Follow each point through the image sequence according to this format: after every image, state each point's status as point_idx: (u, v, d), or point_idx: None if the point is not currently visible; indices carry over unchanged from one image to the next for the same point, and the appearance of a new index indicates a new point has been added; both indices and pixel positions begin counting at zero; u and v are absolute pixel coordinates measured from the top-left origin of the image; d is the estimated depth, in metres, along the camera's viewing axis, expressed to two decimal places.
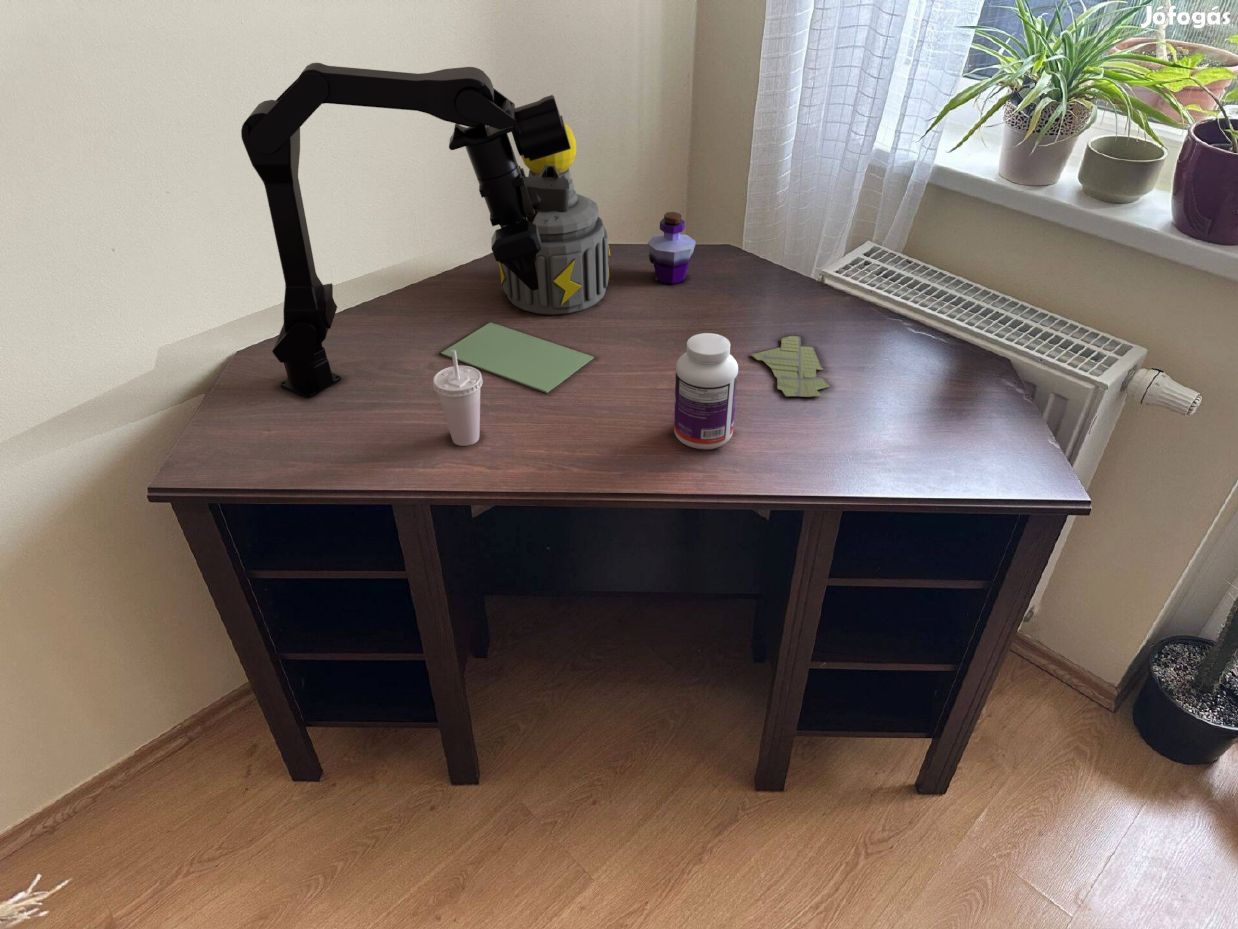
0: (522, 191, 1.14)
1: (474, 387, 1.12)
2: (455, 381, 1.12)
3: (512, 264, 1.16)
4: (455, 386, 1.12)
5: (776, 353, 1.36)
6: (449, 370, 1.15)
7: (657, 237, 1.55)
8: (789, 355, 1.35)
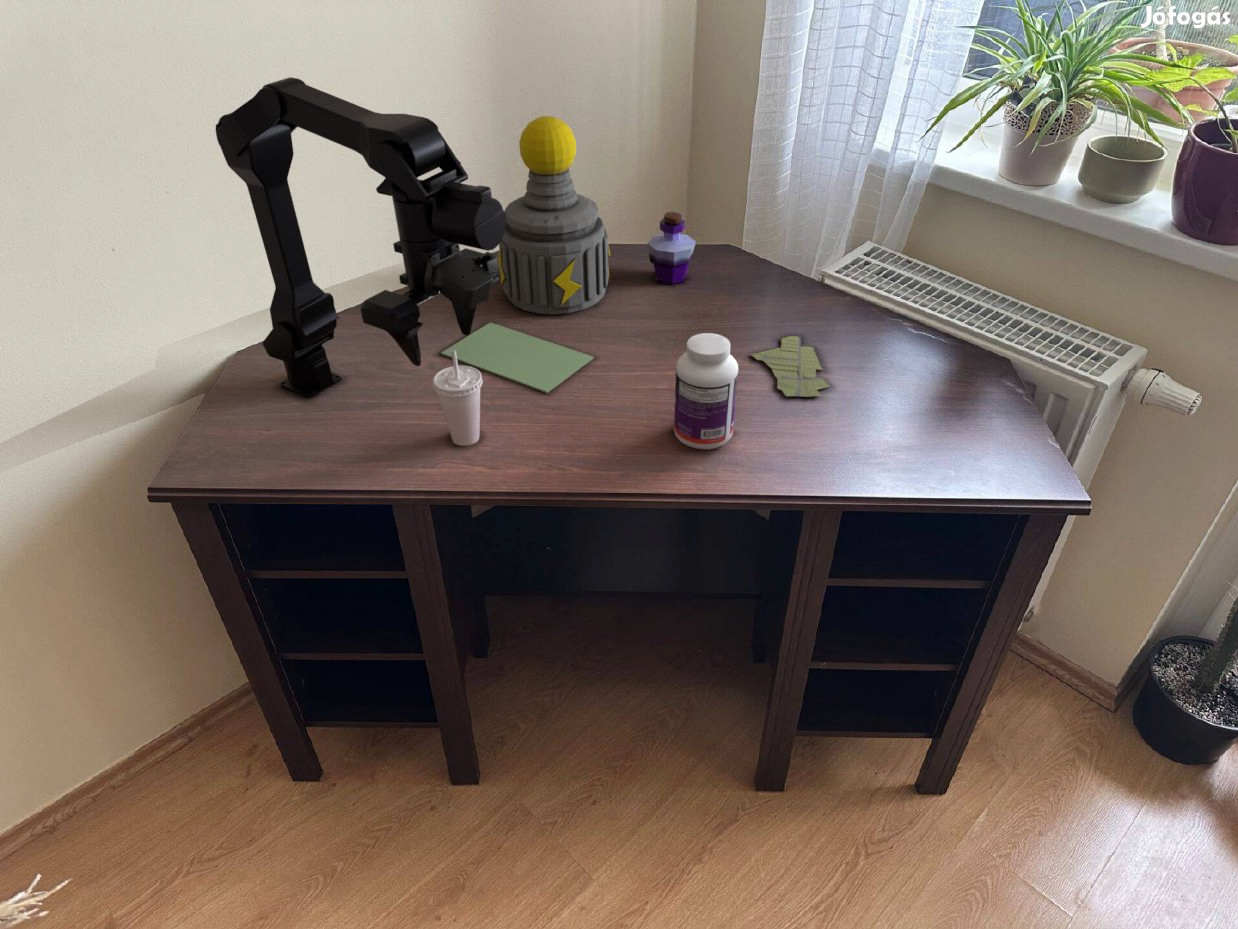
0: (427, 267, 1.01)
1: (474, 387, 1.12)
2: (455, 381, 1.12)
3: None
4: (455, 386, 1.12)
5: (776, 353, 1.36)
6: (449, 370, 1.15)
7: (657, 237, 1.55)
8: (789, 354, 1.35)
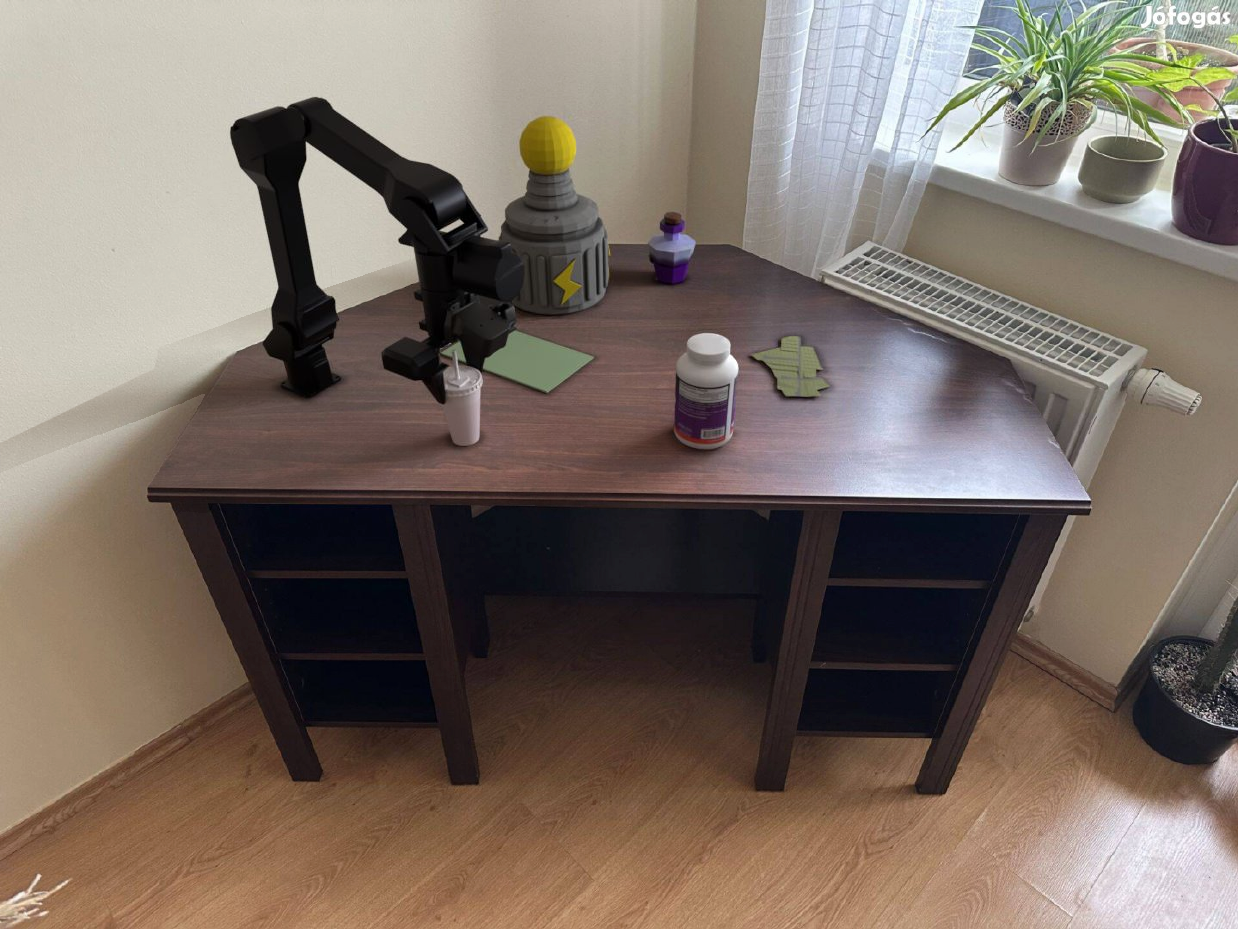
0: (447, 316, 1.04)
1: (474, 387, 1.12)
2: (455, 381, 1.12)
3: None
4: (455, 386, 1.12)
5: (776, 353, 1.36)
6: (449, 370, 1.15)
7: (657, 237, 1.55)
8: (789, 354, 1.35)
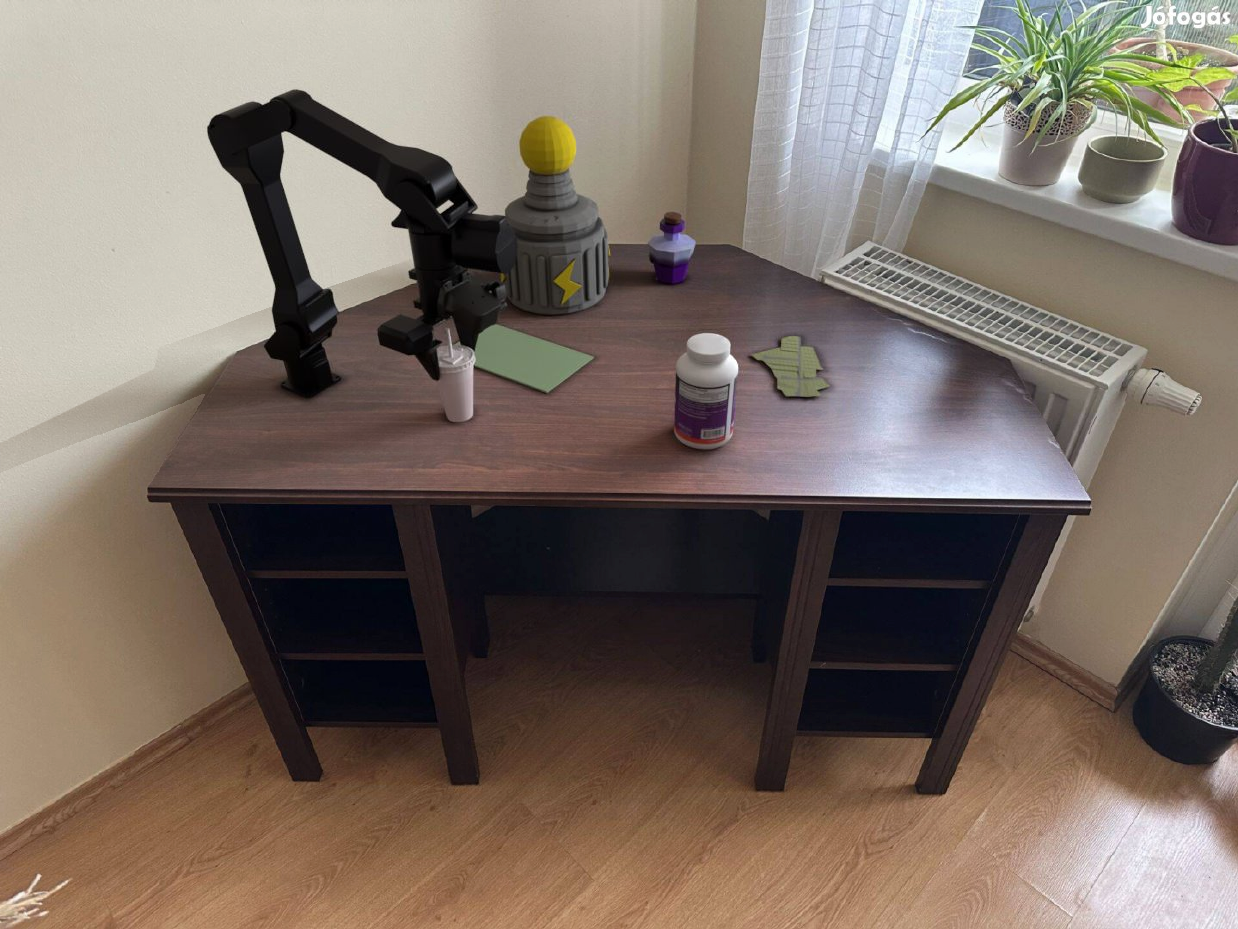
0: (440, 293, 1.08)
1: (467, 364, 1.16)
2: (449, 358, 1.17)
3: None
4: (449, 363, 1.16)
5: (776, 353, 1.36)
6: (443, 349, 1.19)
7: (657, 237, 1.55)
8: (789, 354, 1.35)
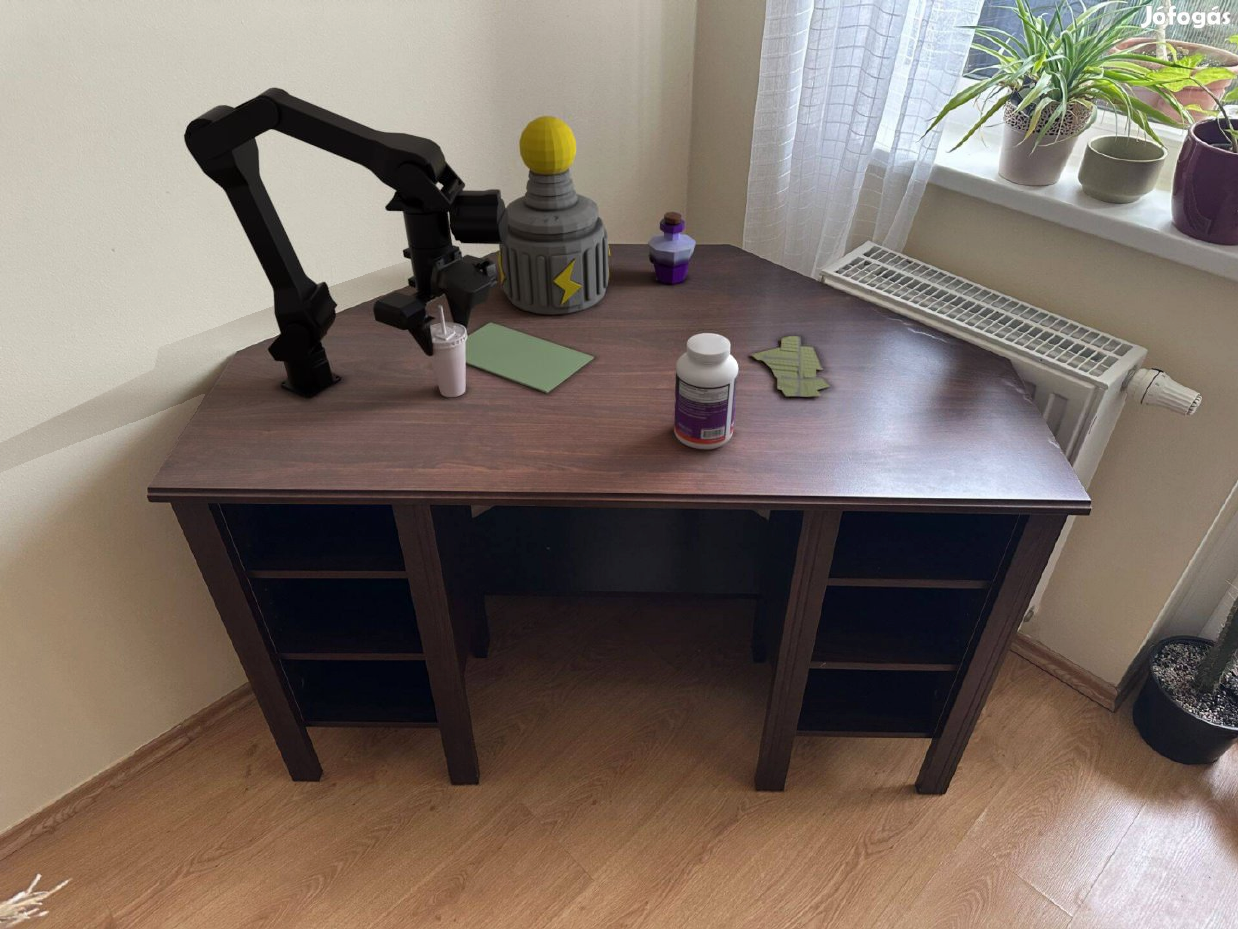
0: (433, 271, 1.14)
1: (459, 340, 1.22)
2: (442, 335, 1.22)
3: None
4: (442, 339, 1.21)
5: (776, 353, 1.36)
6: (437, 326, 1.24)
7: (657, 237, 1.55)
8: (789, 354, 1.35)
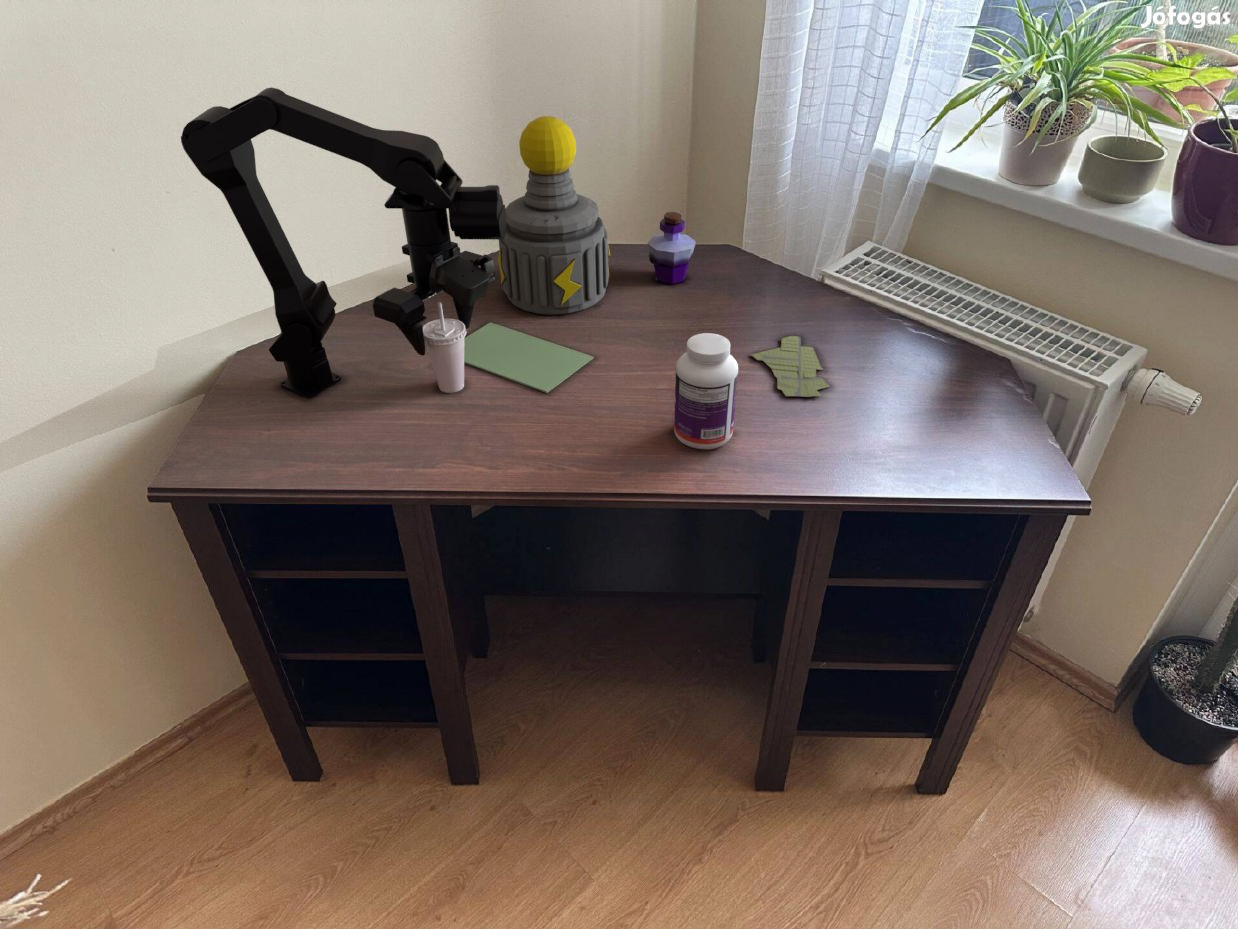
0: (432, 268, 1.15)
1: (458, 337, 1.23)
2: (441, 331, 1.23)
3: None
4: (441, 335, 1.22)
5: (776, 353, 1.36)
6: (436, 322, 1.25)
7: (657, 237, 1.55)
8: (789, 354, 1.35)
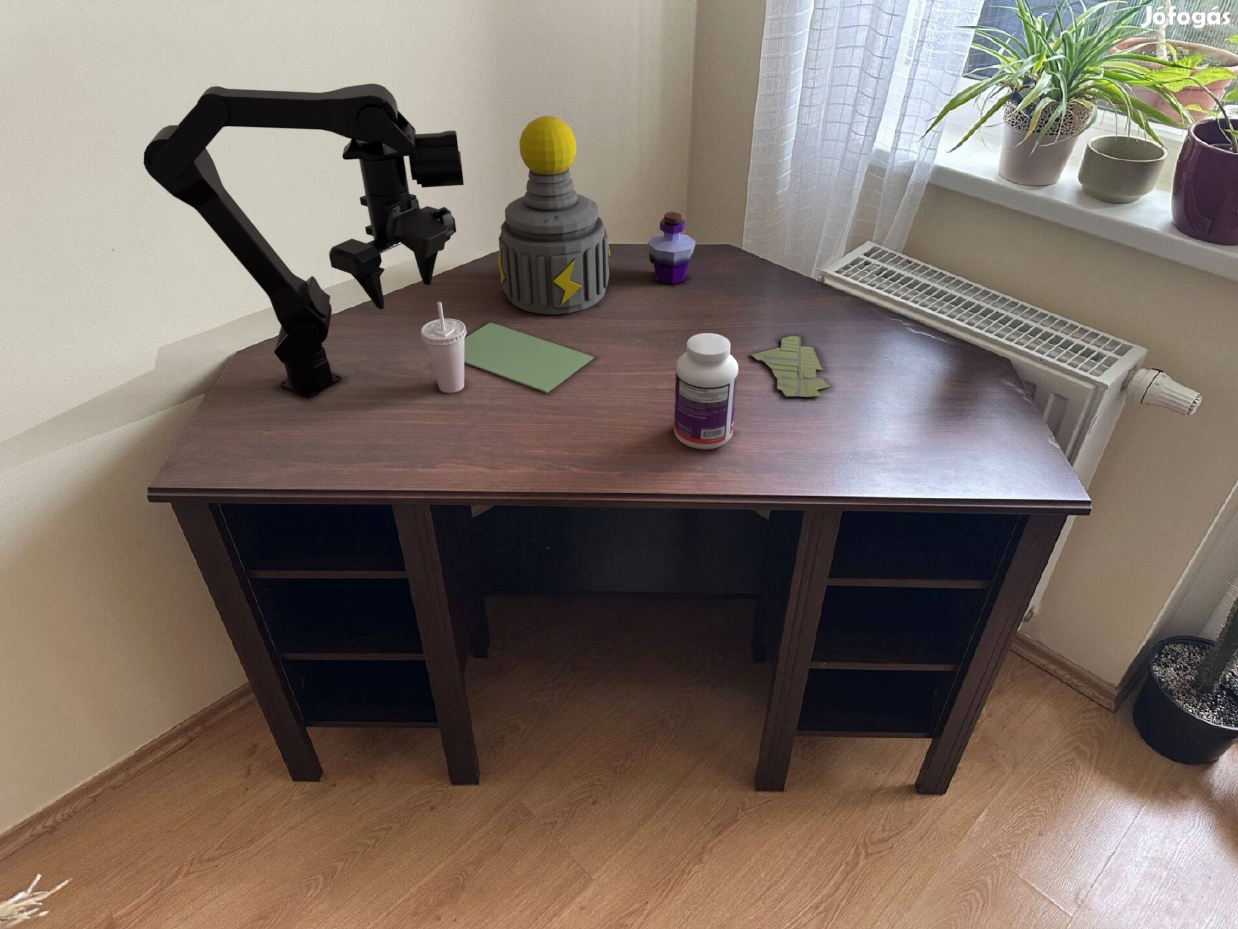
0: (389, 218, 1.14)
1: (458, 337, 1.23)
2: (441, 331, 1.23)
3: (356, 275, 1.18)
4: (441, 335, 1.22)
5: (776, 353, 1.36)
6: (436, 322, 1.25)
7: (657, 237, 1.55)
8: (789, 355, 1.35)
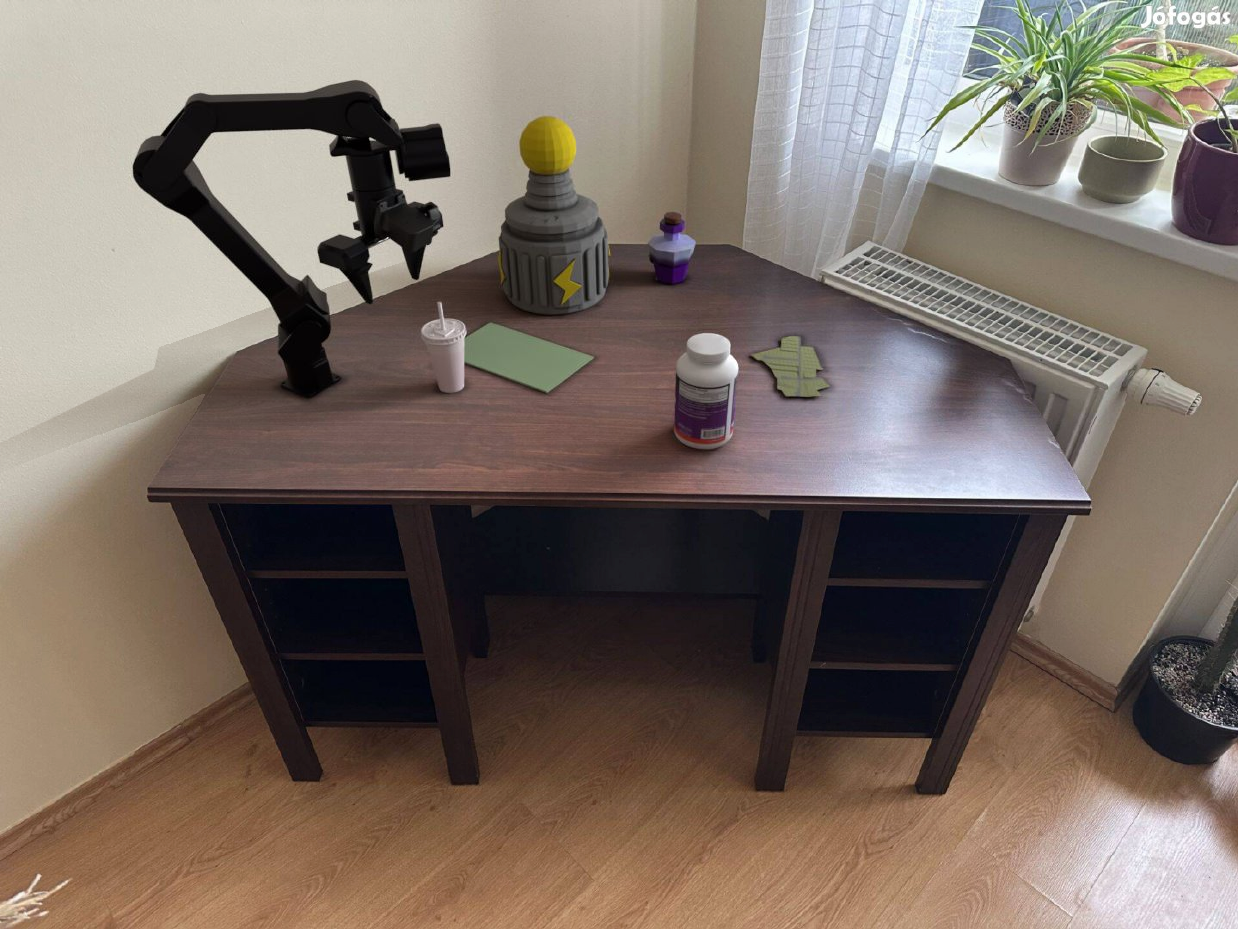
0: (376, 213, 1.15)
1: (458, 337, 1.23)
2: (441, 331, 1.23)
3: (345, 270, 1.19)
4: (441, 335, 1.22)
5: (776, 353, 1.36)
6: (436, 322, 1.25)
7: (657, 237, 1.55)
8: (789, 355, 1.35)
